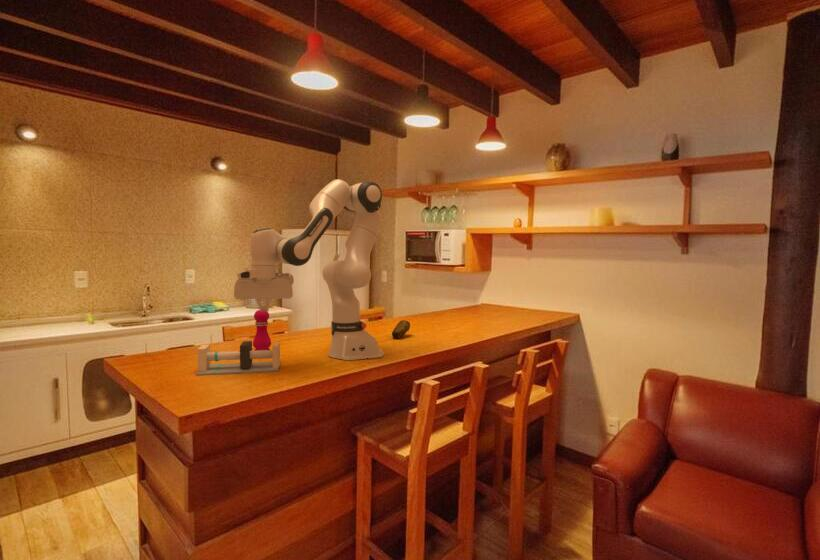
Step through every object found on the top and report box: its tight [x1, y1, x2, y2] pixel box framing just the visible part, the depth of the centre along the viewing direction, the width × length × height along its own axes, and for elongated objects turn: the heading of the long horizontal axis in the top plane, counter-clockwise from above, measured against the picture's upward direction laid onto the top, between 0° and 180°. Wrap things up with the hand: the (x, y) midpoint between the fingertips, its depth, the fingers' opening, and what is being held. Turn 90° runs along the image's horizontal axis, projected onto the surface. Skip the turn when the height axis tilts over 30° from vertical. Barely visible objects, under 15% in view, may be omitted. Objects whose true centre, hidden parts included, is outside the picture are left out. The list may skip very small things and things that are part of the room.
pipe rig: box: [195, 341, 281, 376], centre depth 159 cm, size 27×12×9 cm, turn 102°
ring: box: [239, 340, 253, 369], centre depth 159 cm, size 3×8×8 cm, turn 12°
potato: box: [391, 320, 411, 339], centre depth 218 cm, size 8×13×8 cm, turn 136°
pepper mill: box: [252, 306, 272, 351], centre depth 181 cm, size 7×7×20 cm
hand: (264, 311), depth 159 cm, fingers closed
